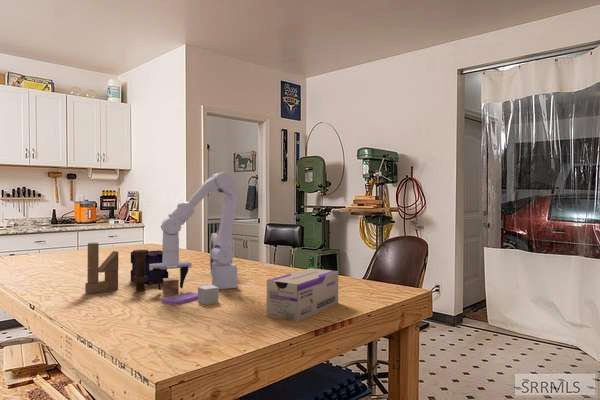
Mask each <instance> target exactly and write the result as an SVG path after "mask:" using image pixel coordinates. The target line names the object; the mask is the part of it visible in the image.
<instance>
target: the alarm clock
mask: <svg viewBox="0 0 600 400" xmlns="http://www.w3.org/2000/svg"><path fill="white" fill-rule="evenodd" d="M218 231H219V230H216V232H215V233H214V232H212V233H211V235H210V241H209V253H210V252H211V250H212V248H213V247H214V243H215V241H216V239H217V237H218ZM212 262H213V260H212V258H211V256H210V255H209V266H210V268H209V269H210V270H209V271H210V275H211V276H212ZM231 264H233V260H232V261H231Z"/></svg>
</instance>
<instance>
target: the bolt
mask: <svg viewBox="0 0 600 400" xmlns="http://www.w3.org/2000/svg"><path fill="white" fill-rule="evenodd" d="M149 251H150V250H148V249H133V250H132V251H131V252H132V255H136V276H134V277H133V281H134V282H136V284H135V292H144V291H145V290H146V285H145V282H146V281H147V280H148V277H147V276H146V275H145V255H147V254H149Z"/></svg>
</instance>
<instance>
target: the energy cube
mask: <svg viewBox="0 0 600 400" xmlns="http://www.w3.org/2000/svg"><path fill="white" fill-rule="evenodd" d="M148 251H149V254H147V255H145V275H146V276H147V277H148V280H147V281H146V282H145V286H149V285H150V284H157V285H158V283H157V279H156V277H155V274H154V272H153V270H149V264H156V263H162V260H163V251H162V250H161V249H160V250H148ZM130 263H131V270H130V282H131V281H132V282H131V283H133V282H134V281H133V277H134V276H136V255H132V251H130ZM162 268H163V267H162ZM160 272H161V284H163V278H169V271H168V269H160ZM134 285H136V282H135V283H134Z"/></svg>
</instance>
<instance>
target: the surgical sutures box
mask: <svg viewBox="0 0 600 400" xmlns="http://www.w3.org/2000/svg"><path fill="white" fill-rule="evenodd" d="M337 304H339V270H330V269H321V268H320V269H319V268H312V267H311V268H310V267H309V268H307V269H303V270H299V271H295V272H292V273H289V274H284V275H280V276H278V277H273V278H270V279H267V280H266V317H268V318H269V317H270V318H274V319H275V318H276V319H281V320H285V321H291V322H295V323H299V322H301V321H303V320H305V319H308V318H309V317H311V316H313V315H315V314H318V313H320V312H322V311H324V310H326V309H329V308H331V307H333V306H335V305H337Z"/></svg>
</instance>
